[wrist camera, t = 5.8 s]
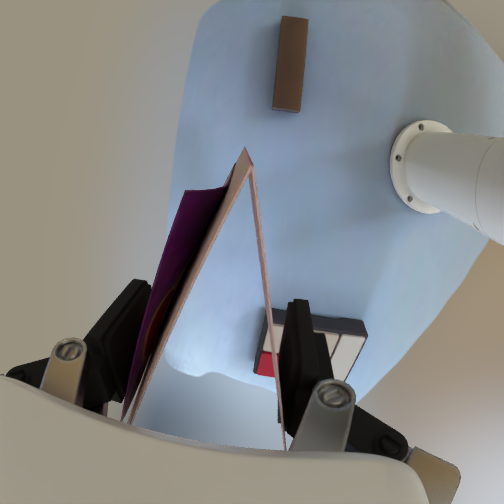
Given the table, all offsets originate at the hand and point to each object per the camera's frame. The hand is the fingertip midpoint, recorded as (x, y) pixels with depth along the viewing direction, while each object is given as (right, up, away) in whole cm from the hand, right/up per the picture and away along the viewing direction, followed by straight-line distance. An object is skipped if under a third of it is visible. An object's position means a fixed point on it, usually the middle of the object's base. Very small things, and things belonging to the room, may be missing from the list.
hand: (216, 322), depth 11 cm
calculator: (+10, -11, +31) cm, 35 cm away
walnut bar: (+6, +25, +17) cm, 30 cm away
